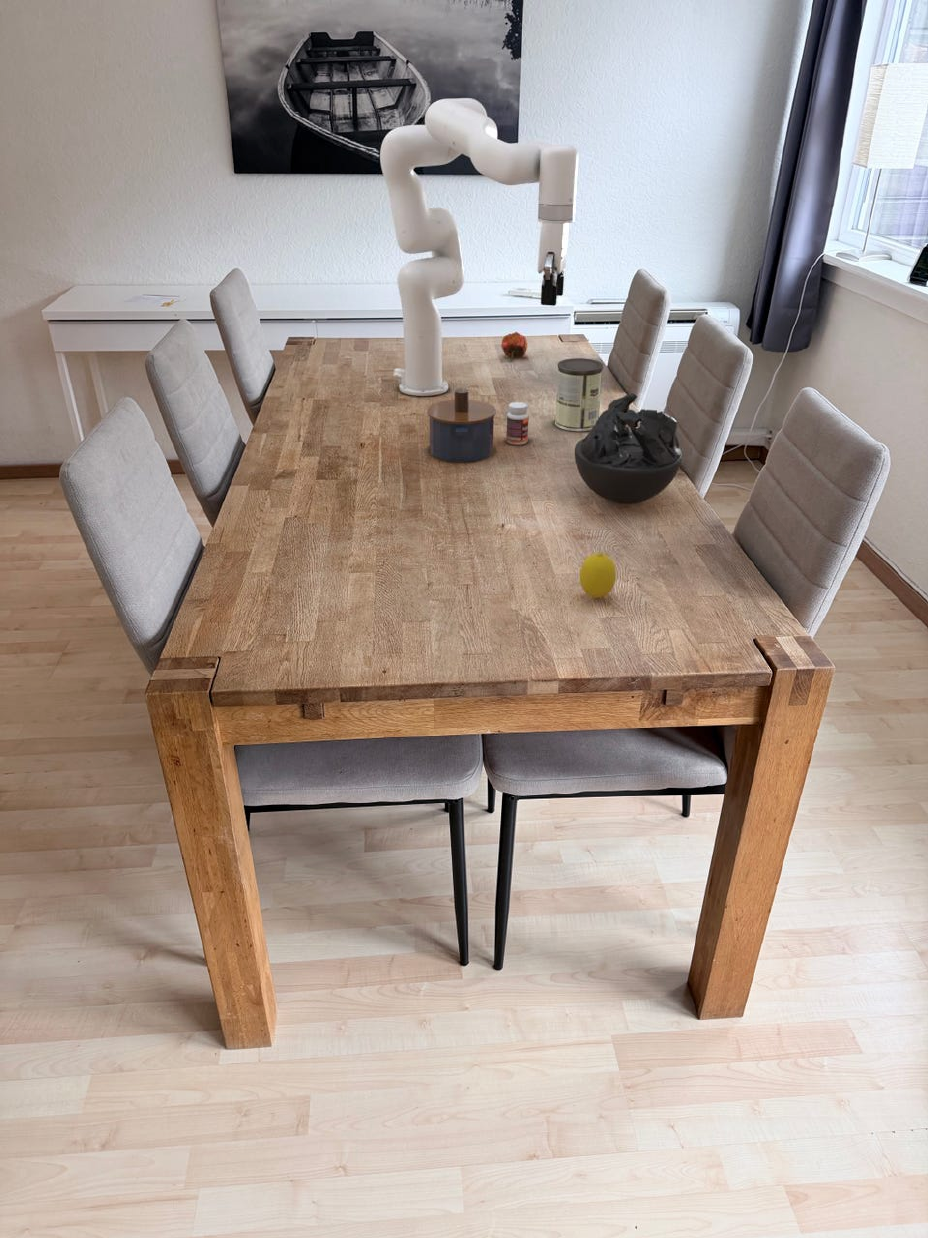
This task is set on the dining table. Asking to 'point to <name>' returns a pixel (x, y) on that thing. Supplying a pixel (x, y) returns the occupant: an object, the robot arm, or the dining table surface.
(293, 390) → the dining table surface
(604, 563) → the lemon
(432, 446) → the pot
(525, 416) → the pill bottle
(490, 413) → the lid
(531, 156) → the robot arm
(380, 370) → the dining table surface
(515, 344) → the pomegranate
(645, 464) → the coal bowl
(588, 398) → the coffee can
